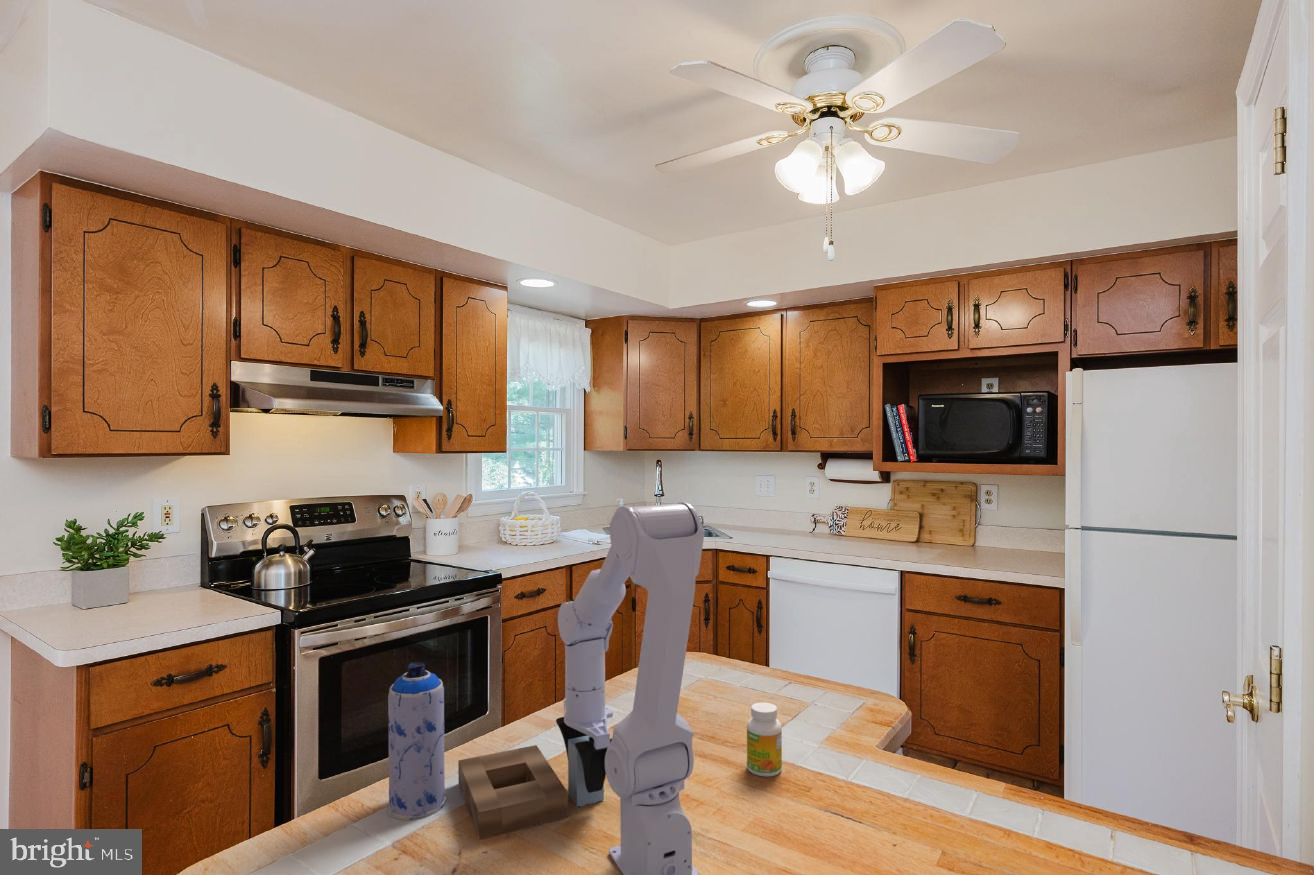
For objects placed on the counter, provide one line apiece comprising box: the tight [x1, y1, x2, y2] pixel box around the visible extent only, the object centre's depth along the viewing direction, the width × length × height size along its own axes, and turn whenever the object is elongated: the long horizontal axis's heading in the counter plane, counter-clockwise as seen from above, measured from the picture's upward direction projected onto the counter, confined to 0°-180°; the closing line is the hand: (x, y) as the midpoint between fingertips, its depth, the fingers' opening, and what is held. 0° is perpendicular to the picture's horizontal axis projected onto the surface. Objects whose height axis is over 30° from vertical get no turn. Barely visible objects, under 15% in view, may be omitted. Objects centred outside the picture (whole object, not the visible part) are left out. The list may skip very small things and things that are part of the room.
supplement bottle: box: [746, 702, 783, 777], centre depth 110 cm, size 5×5×10 cm
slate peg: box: [567, 736, 605, 808], centre depth 101 cm, size 4×4×8 cm
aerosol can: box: [387, 661, 447, 821], centre depth 100 cm, size 8×8×20 cm
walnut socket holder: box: [457, 744, 569, 840], centre depth 101 cm, size 16×12×4 cm
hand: (585, 778), depth 101 cm, fingers open, 7 cm apart
